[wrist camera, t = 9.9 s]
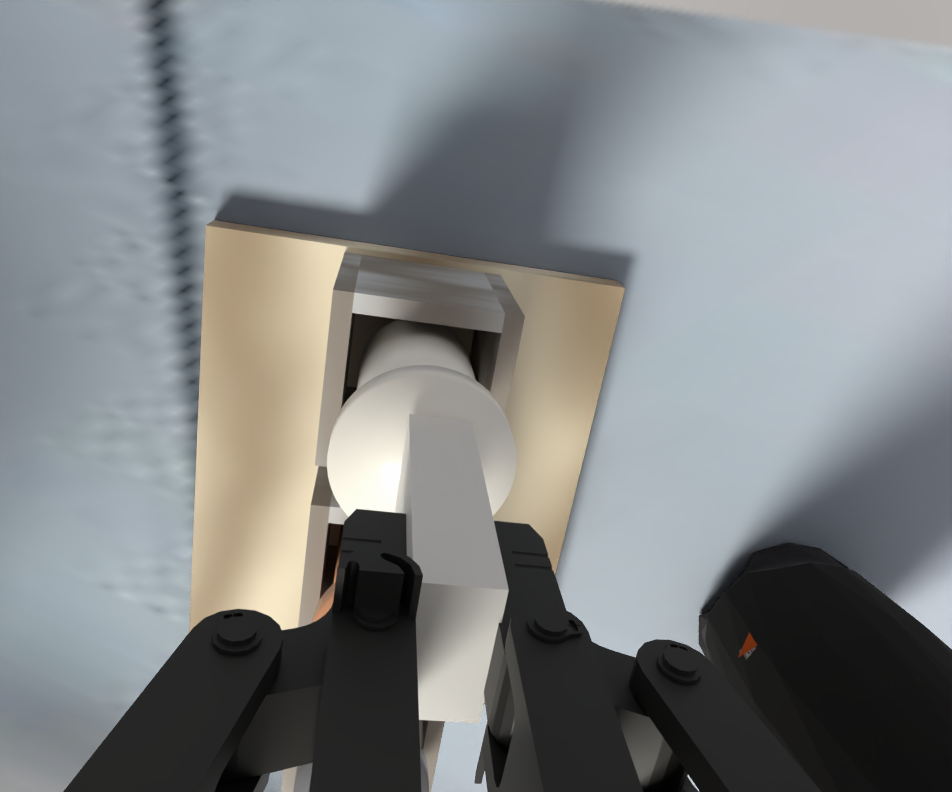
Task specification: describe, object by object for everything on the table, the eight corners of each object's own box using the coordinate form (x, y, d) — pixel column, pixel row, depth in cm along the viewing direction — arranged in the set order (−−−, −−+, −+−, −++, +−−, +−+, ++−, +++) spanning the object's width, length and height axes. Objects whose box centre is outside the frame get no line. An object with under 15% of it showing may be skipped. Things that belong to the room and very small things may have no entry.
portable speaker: (647, 608, 35) (917, 1154, 17) (821, 495, 34) (1317, 957, 16) (734, 714, 38) (1042, 1273, 20) (896, 614, 37) (1386, 1117, 19)
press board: (193, 667, 34) (148, 796, 27) (213, 220, 27) (158, 258, 20) (518, 687, 36) (545, 810, 30) (616, 280, 29) (676, 331, 23)
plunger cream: (337, 426, 25) (318, 537, 19) (352, 292, 23) (336, 364, 17) (473, 441, 26) (498, 553, 19) (496, 312, 24) (533, 388, 18)
